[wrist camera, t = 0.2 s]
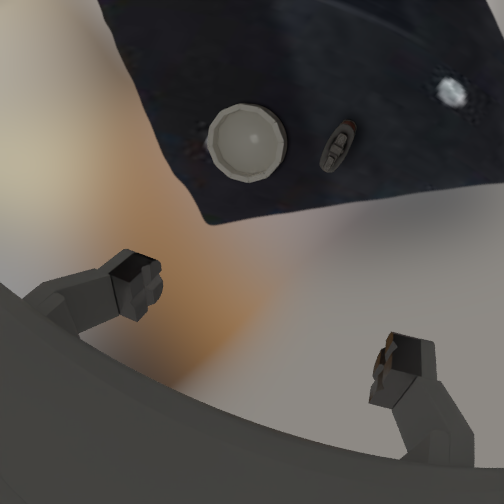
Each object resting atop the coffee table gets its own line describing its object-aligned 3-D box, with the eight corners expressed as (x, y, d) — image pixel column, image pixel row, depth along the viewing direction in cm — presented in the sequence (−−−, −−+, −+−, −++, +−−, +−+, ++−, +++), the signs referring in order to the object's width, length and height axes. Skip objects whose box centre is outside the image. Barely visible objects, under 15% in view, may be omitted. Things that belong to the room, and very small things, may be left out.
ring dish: (219, 98, 53) (211, 99, 51) (293, 111, 50) (289, 112, 48) (212, 167, 61) (205, 172, 59) (280, 185, 58) (275, 190, 56)
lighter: (342, 115, 48) (336, 121, 40) (361, 125, 47) (358, 134, 39) (322, 155, 52) (311, 170, 44) (339, 165, 52) (332, 181, 44)
